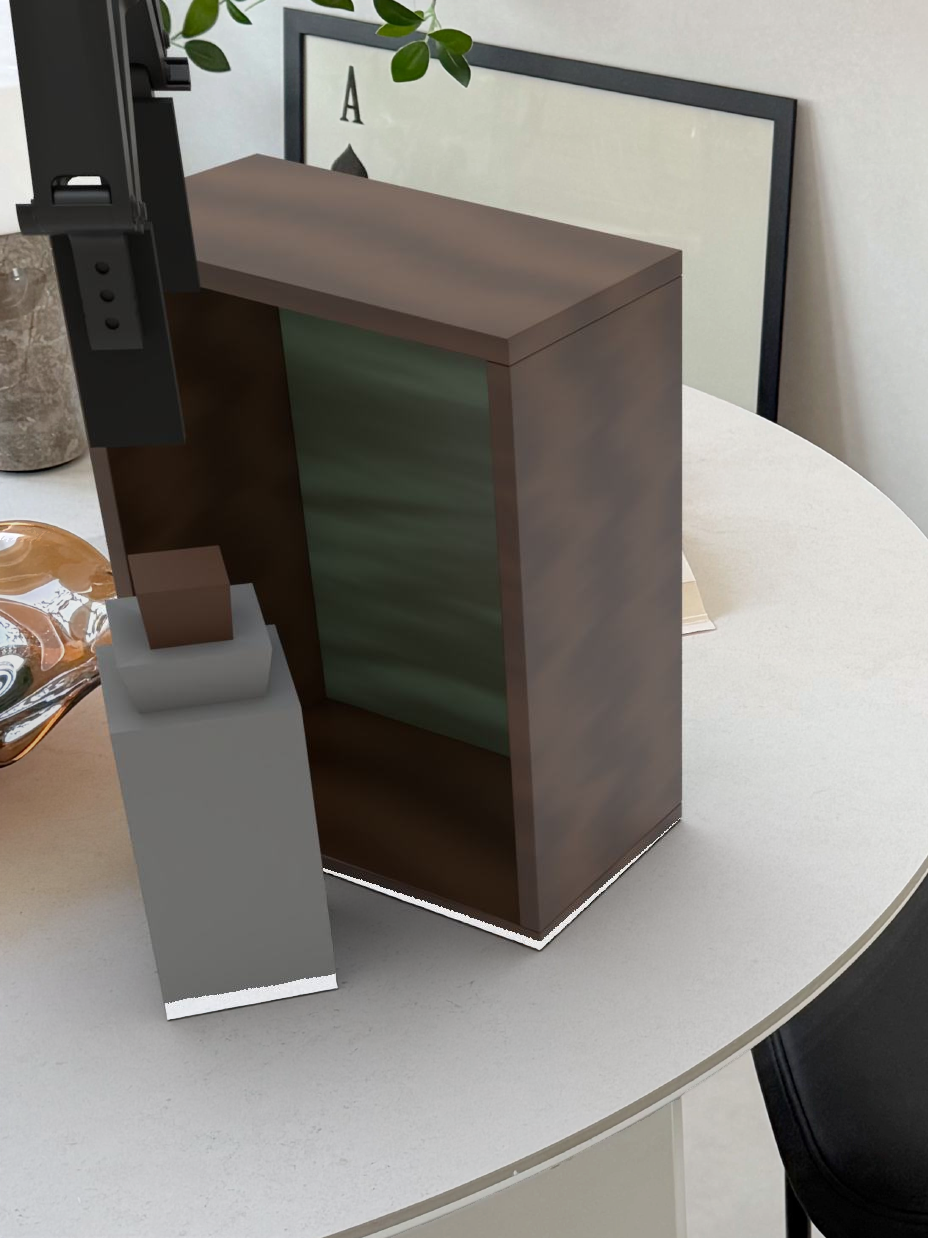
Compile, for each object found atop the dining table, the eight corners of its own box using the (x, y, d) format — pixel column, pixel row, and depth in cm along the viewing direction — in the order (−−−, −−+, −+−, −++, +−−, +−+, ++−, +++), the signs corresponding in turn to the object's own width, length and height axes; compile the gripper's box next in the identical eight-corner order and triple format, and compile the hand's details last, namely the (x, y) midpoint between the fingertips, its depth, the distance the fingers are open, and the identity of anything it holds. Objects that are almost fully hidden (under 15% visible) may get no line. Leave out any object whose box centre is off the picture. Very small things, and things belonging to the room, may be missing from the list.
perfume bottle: (338, 988, 81) (286, 599, 70) (167, 1020, 79) (87, 622, 68) (312, 897, 86) (260, 520, 75) (150, 924, 84) (73, 540, 73)
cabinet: (540, 952, 84) (507, 338, 68) (157, 812, 90) (45, 222, 75) (682, 818, 93) (683, 249, 77) (324, 700, 99) (256, 152, 83)
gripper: (145, -362, 44) (265, 515, 56) (188, -426, 63) (270, 237, 75) (-226, -383, 42) (-16, 527, 54) (-65, -442, 61) (62, 240, 74)
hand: (150, 360), depth 65 cm, fingers open, 13 cm apart
